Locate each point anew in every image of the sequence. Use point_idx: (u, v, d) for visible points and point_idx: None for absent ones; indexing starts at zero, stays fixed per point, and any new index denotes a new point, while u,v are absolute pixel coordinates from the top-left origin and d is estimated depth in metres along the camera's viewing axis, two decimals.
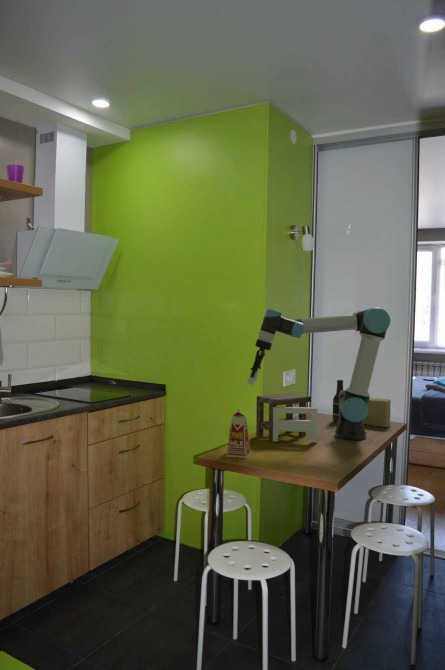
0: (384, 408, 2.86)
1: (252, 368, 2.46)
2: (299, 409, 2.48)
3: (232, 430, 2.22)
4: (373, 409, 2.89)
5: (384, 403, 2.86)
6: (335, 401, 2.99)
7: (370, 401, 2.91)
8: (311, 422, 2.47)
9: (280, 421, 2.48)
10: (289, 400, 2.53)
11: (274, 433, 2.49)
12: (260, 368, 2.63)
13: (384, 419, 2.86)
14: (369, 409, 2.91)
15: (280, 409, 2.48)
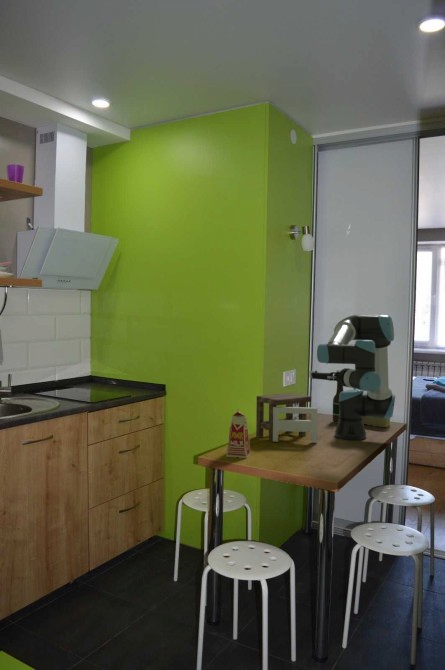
0: None
1: None
2: (299, 409, 2.48)
3: (232, 430, 2.22)
4: None
5: None
6: (335, 401, 2.99)
7: None
8: (311, 422, 2.47)
9: (280, 421, 2.48)
10: (289, 400, 2.53)
11: (274, 433, 2.49)
12: None
13: (384, 419, 2.86)
14: None
15: (280, 409, 2.48)
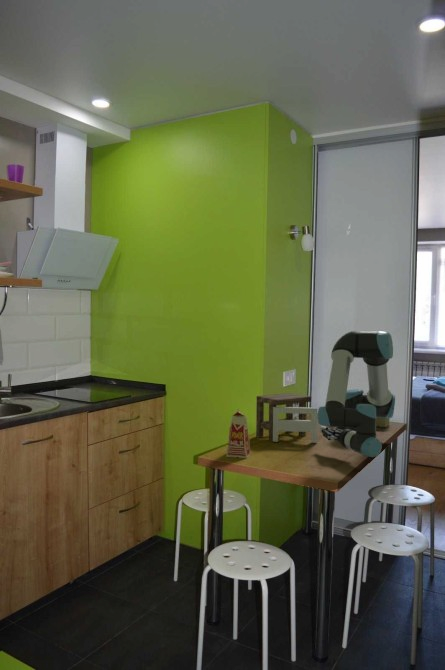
0: None
1: None
2: (299, 409, 2.48)
3: (232, 430, 2.22)
4: None
5: None
6: None
7: None
8: (311, 422, 2.47)
9: (280, 421, 2.48)
10: (289, 400, 2.53)
11: (274, 433, 2.49)
12: None
13: (383, 419, 2.86)
14: None
15: (280, 409, 2.48)
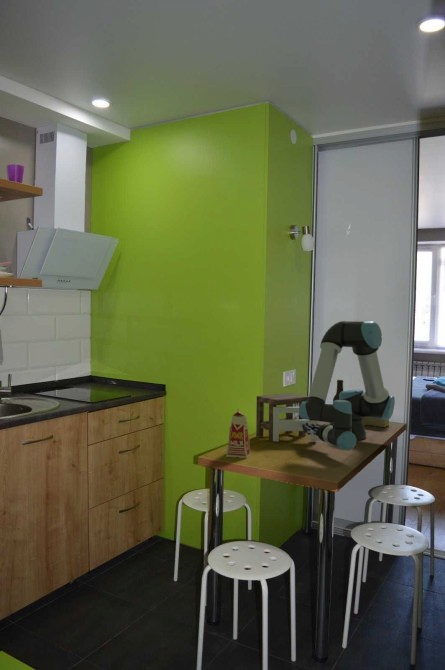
0: None
1: None
2: None
3: (232, 430, 2.22)
4: None
5: None
6: None
7: None
8: (311, 421, 2.49)
9: (281, 421, 2.49)
10: (289, 400, 2.53)
11: (275, 433, 2.49)
12: (308, 423, 2.41)
13: (383, 419, 2.86)
14: None
15: (281, 409, 2.49)
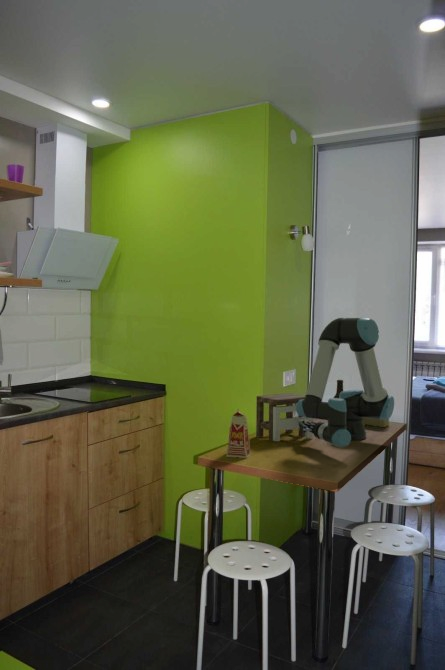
0: None
1: None
2: None
3: (232, 430, 2.22)
4: None
5: None
6: None
7: None
8: (308, 419, 2.56)
9: (282, 420, 2.50)
10: (289, 400, 2.53)
11: (276, 433, 2.49)
12: None
13: None
14: None
15: (282, 408, 2.50)
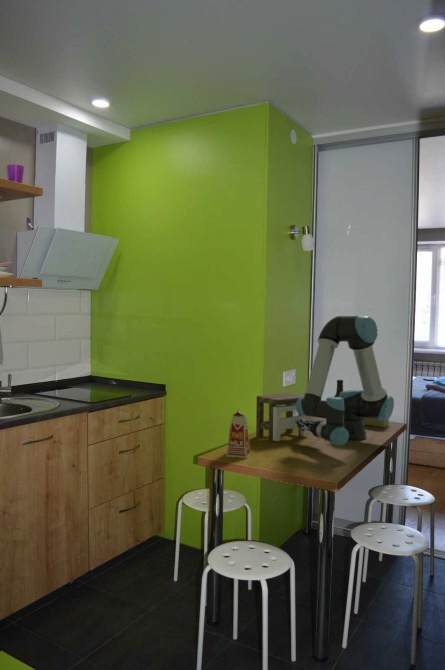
0: None
1: None
2: (295, 406, 2.56)
3: (232, 430, 2.22)
4: None
5: None
6: None
7: None
8: (303, 417, 2.60)
9: (282, 420, 2.51)
10: (289, 400, 2.53)
11: (277, 433, 2.50)
12: (302, 419, 2.49)
13: None
14: None
15: (282, 408, 2.51)
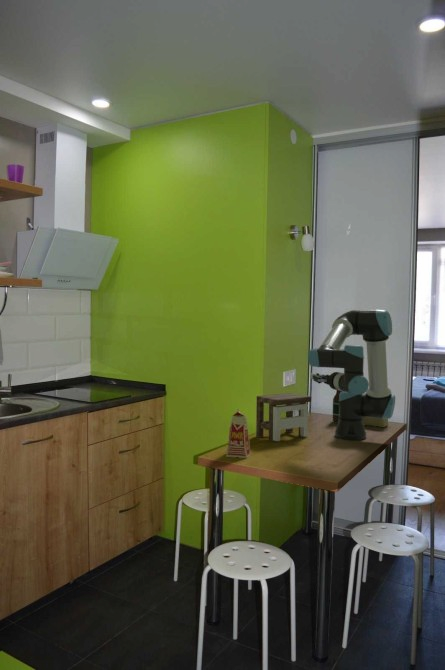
0: None
1: None
2: (295, 406, 2.56)
3: (232, 430, 2.22)
4: None
5: None
6: (335, 401, 2.99)
7: None
8: (303, 417, 2.60)
9: (282, 420, 2.51)
10: (289, 400, 2.53)
11: (277, 433, 2.50)
12: (318, 373, 2.36)
13: (382, 419, 2.86)
14: None
15: (282, 408, 2.51)
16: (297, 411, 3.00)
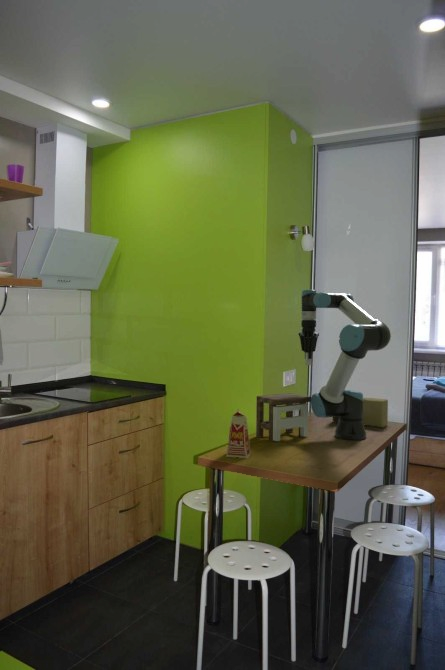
0: (380, 408, 2.86)
1: (311, 351, 2.72)
2: (295, 406, 2.56)
3: (232, 430, 2.22)
4: (370, 409, 2.90)
5: (380, 403, 2.86)
6: None
7: (367, 401, 2.91)
8: (303, 417, 2.60)
9: (282, 420, 2.51)
10: (289, 400, 2.53)
11: (277, 433, 2.50)
12: None
13: (380, 419, 2.86)
14: (366, 409, 2.91)
15: (282, 408, 2.51)
16: (297, 411, 3.00)
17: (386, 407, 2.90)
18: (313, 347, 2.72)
